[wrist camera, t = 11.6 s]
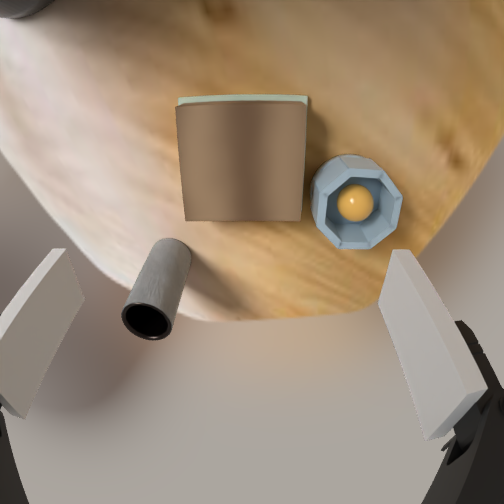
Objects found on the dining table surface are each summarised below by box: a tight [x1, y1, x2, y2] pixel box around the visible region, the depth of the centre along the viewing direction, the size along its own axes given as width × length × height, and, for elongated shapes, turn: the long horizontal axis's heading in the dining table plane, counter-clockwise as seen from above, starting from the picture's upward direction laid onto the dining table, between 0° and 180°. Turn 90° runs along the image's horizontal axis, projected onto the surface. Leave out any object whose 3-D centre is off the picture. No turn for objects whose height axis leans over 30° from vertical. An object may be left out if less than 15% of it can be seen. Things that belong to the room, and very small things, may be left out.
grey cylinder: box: [121, 238, 191, 340], centre depth 30 cm, size 4×4×10 cm
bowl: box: [310, 154, 403, 249], centre depth 28 cm, size 8×8×4 cm
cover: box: [175, 100, 306, 221], centre depth 26 cm, size 10×10×3 cm
